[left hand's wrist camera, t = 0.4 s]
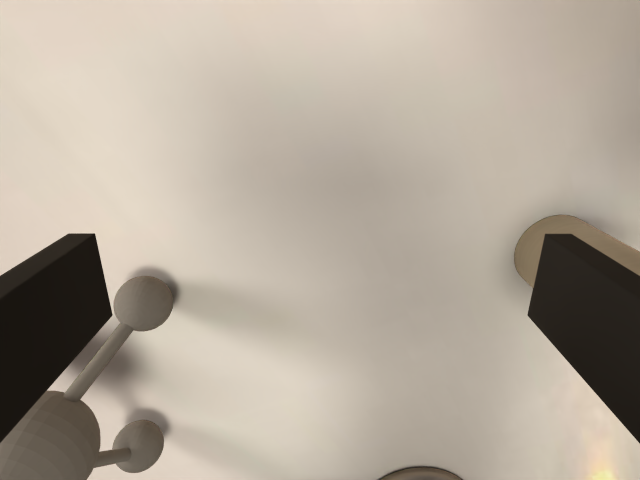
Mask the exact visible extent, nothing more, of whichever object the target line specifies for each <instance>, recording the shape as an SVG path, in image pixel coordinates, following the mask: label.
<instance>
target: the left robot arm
mask: <svg viewBox="0 0 640 480" xmlns="http://www.w3.org/2000/svg"><path fill="white" fill-rule="evenodd" d="M111 316H112V311H111V306H110V301H109V297H108V292H107V287H106V283H105V278H104V274H103V269H102V264H101V260H100V255H99V250H98V246H97V241H96V236H95V234H67V235H66V236H64V237H62V238H61V239H59V240H58V241H56V242H54V243H53V244H51V245H49V246H48V247H46V248H45V249H43V250H41V251H40V252H38V253H37V254H35V255H33V256H32V257H30V258H28V259H27V260H25V261H24V262H22V263H20V264H19V265H17V266H15V267H14V268H12V269H11V270H9V271H7V272H6V273H4V274H2V275H1V276H0V443H1V442H2V441H3V440H4V438H5V437H6V436H7V435H8V434H9V433H10V432H11V430H12V429H13V428H14V427H15V426H16V425H17V424H18V422H19V421H20V420H21V419H22V418H23V417H24V416H25V414H26V413H27V412H28V411H29V410H30V409H31V408H32V406H33V405H34V404H35V403H36V402H37V401H38V400H39V399H40V397H41V396H42V395H43V394H44V393H45V392H46V391H47V389H48V388H49V387H50V386H51V385H52V384H53V383H54V381H55V380H56V379H57V378H58V377H59V376H60V375H61V373H62V372H63V371H64V370H65V369H66V368H67V367H68V365H69V364H70V363H71V362H72V361H73V360H74V359H75V357H76V356H77V355H78V354H79V353H80V352H81V351H82V349H83V348H84V347H85V346H86V345H87V344H88V343H89V341H90V340H91V339H92V338H93V337H94V336H95V335H96V333H97V332H98V331H99V330H100V329H101V328H102V327H103V326H104V324H105V323H106V322H107V321H108V320H109V319H110V318H111ZM528 316H529V318H530V319H531V320H532V321H533V322H534V323H535V324H536V326H537V327H538V328H539V329H540V330H541V331H542V332H543V333H544V335H545V336H546V337H547V338H548V339H549V340H550V341H551V343H552V344H553V345H554V346H555V347H556V348H557V349H558V351H559V352H560V353H561V354H562V355H563V356H564V357H565V359H566V360H567V361H568V362H569V363H570V364H571V365H572V367H573V368H574V369H575V370H576V371H577V372H578V373H579V375H580V376H581V377H582V378H583V379H584V380H585V381H586V383H587V384H588V385H589V386H590V387H591V388H592V389H593V391H594V392H595V393H596V394H597V395H598V396H599V397H600V399H601V400H602V401H603V402H604V403H605V404H606V405H607V406H608V408H609V409H610V410H611V411H612V412H613V413H614V414H615V416H616V417H617V418H618V419H619V420H620V421H621V422H622V424H623V425H624V426H625V427H626V428H627V429H628V430H629V432H630V433H631V434H632V435H633V436H634V437H635V438H636V440H637V441H638V442H639V443H640V276H639V275H638V274H636V273H634V272H633V271H631V270H629V269H628V268H626V267H625V266H623V265H621V264H620V263H618V262H616V261H615V260H613V259H612V258H610V257H608V256H607V255H605V254H603V253H602V252H600V251H599V250H597V249H595V248H594V247H592V246H591V245H589V244H587V243H586V242H584V241H582V240H581V239H579V238H578V237H576V236H574V235H573V234H545V236H544V241H543V246H542V250H541V255H540V260H539V264H538V269H537V274H536V278H535V283H534V287H533V292H532V297H531V301H530V306H529V311H528ZM381 480H461V479H460V478H459V477H457V476H456V475H454V474H452V473H450V472H447V471H444V470H440V469H435V468H425V467H420V468H410V469H404V470H400V471H397V472H394V473H392V474H389V475H387V476H386V477H384V478H382V479H381Z"/></svg>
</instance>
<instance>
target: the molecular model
mask: <svg viewBox="0 0 640 480" xmlns="http://www.w3.org/2000/svg"><path fill="white" fill-rule="evenodd" d="M172 308H173V296H172V294H171V291H170V289H169V288H168V286H167V285H166V284H165V283H164V282H163V281H161V280H159V279H157V278H155V277H150V276H140V277H136V278H133V279H131V280H129V281H127V282H126V283H125V284H123V285H122V286H121V287H120V289H119V290H118V292H117V294H116V296H115V300H114V311H115V315H116V317H117V319H118V320H119V321H120V322H121V323H120V324H119V326H118V327H117V328H116V329H115V331H114V332H113V333H112V335H111V336H110V337H109V338H108V340H107V341H106V342H105V343H104V345H103V346H102V347H101V348H100V350H99V351H98V352H97V353H96V355H95V356H94V357H93V358H92V360H91V361H90V362H89V363H88V365H87V366H86V367H85V368H84V370H83V371H82V372H81V373H80V375H79V376H78V377H77V378H76V380H75V381H74V382H73V384H72V385H71V386H70V387H69V389H68V390H67V391H66V392H65V393H64V392H58V391H46V392H45V393H44V394H43V395H42V396H41V397H40V399H39V400H38V401H37V402H36V403H35V404H34V405H33V406H32V408H31V409H30V410H29V411H28V412H27V413H26V414H25V416H24V417H23V418H22V419H21V420H20V421H19V422H18V424H17V425H16V426H15V427H14V428H13V429H12V430H11V432H10V433H9V434H8V435H7V436H6V437H5V438H4V440H3V441H2V442H1V443H0V480H87V478H88V477H89V475H90V474H91V472H92V470H93V468H96V467H101V466H105V465H110V464H115V463H116V465H117V466H118V467H119V468H120V469H122V470H123V471H125V472H129V473H138V472H142V471H144V470H146V469H148V468H150V467H151V466H152V465H153V464H154V463H155V462H156V461H157V460H158V459H159V457H160V455H161V453H162V450H163V446H164V438H163V434H162V431H161V430H160V428H159V427H158V426H157V425H156V424H155V423H153V422H150V421H147V420H139V421H135V422H132V423H130V424H128V425H127V426H125V427H124V428H123V429H122V430H121V431H120V432H119V434H118V435H117V436H116V438H115V441H114V443H113V448H112V450H108V451H102V452H99V449H100V429H99V425H98V422H97V419H96V417H95V415H94V413H93V412H92V410H91V409H90V408H89V407H88V406H87V405H86V404H85V403H84V402H83V401H81V400H80V399H81V398H82V396H83V395H84V394H85V392H86V391H87V390H88V388H89V387H90V386H91V385H92V383H93V382H94V381H95V379H96V378H97V377H98V375H99V374H100V373H101V372H102V370H103V369H104V368H105V366H106V365H107V364H108V362H109V361H110V360H111V359H112V357H113V356H114V355H115V353H116V352H117V351H118V349H119V348H120V347H121V346H122V344H123V343H124V342H125V340H126V339H127V338H128V336H129V335H130V334H131V333H132V331H133V330H135V331H148V330H152V329H155V328H157V327H158V326H160V325H162V324H163V323H164V322H165V321H166V320H167V318H168V317H169V315H170V313H171V311H172Z"/></svg>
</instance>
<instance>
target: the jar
mask: <svg viewBox="0 0 640 480" xmlns="http://www.w3.org/2000/svg"><path fill="white" fill-rule="evenodd" d="M545 234H573V235H574V236H576V237H578V238H579V239H581V240H582V241H584V242H586V243H587V244H589V245H591V246H592V247H594V248H595V249H597V250H599V251H600V252H602V253H603V254H605V255H607V256H608V257H610V258H612V259H613V260H615V261H616V262H618V263H620V264H621V265H623V266H625V267H626V268H628V269H629V270H631V271H633V272H634V273H636V274H638V275H639V276H640V252H639V251H637V250H635V249H633V248H632V247H630V246H628V245H626V244H624V243H622V242H621V241H619V240H617V239H615V238H613V237H611V236H609V235H608V234H606V233H604V232H602V231H600V230H598V229H597V228H595V227H593V226H591V225H589V224H587V223H586V222H584V221H582V220H580V219H578V218H576V217H573V216H568V215H556V216H551V217H547V218H545V219H542V220H540V221H538V222H537V223H535V224H533V225H532V226H531V227H530V228H529V229H528V230H527V231H526V232H525V233H524V234H523V235H522V237H521V238H520V240H519V242H518V244H517V246H516V249H515V254H514V261H515V266H516V269H517V271H518V273H519V274H520V276H521V277H522V278H523V279H524V280H525V281H526V282H527V283H528V284H529V285H530V286H531V287H532V288H533V287H534V283H535V278H536V274H537V269H538V264H539V260H540V255H541V250H542V246H543V241H544V236H545Z"/></svg>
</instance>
